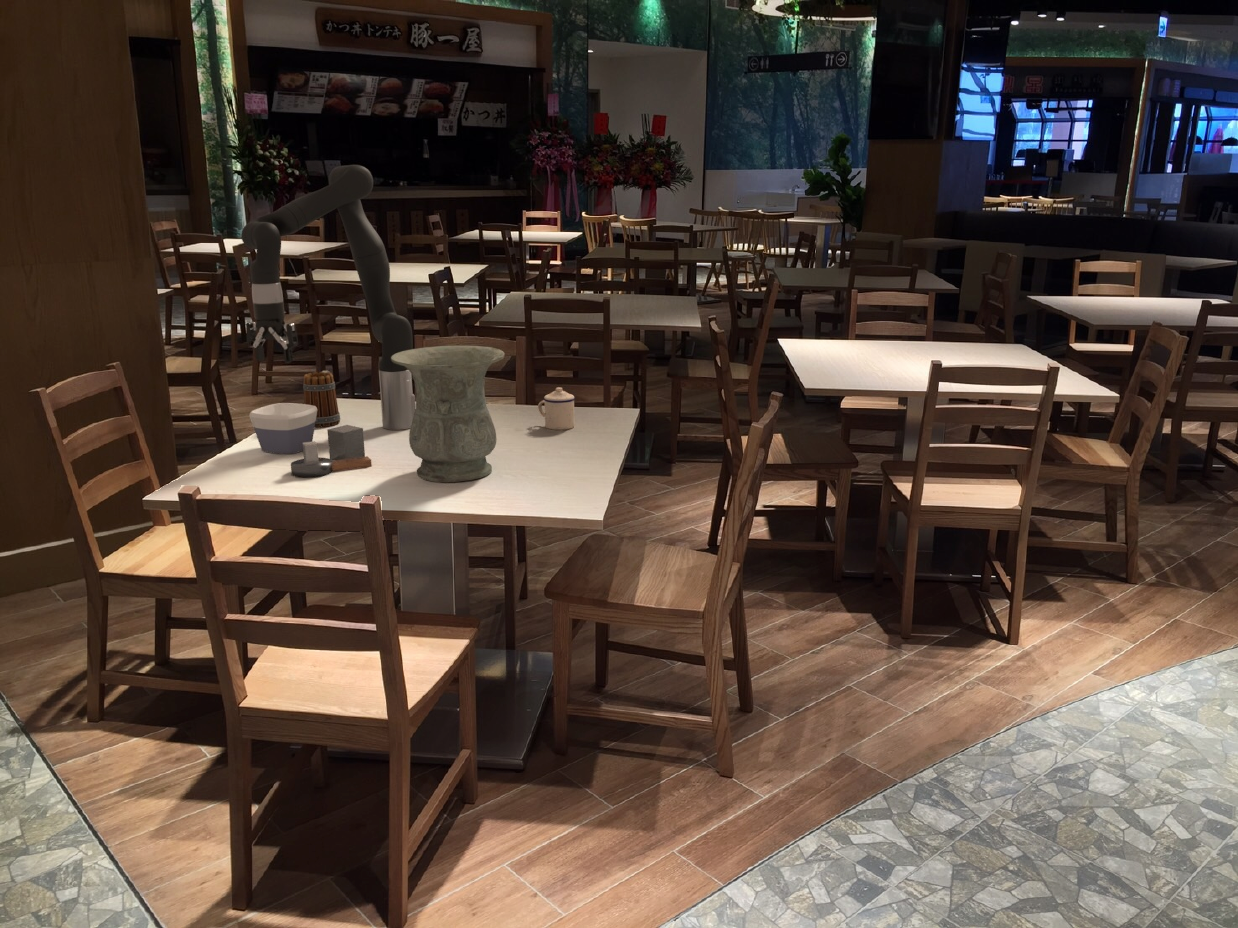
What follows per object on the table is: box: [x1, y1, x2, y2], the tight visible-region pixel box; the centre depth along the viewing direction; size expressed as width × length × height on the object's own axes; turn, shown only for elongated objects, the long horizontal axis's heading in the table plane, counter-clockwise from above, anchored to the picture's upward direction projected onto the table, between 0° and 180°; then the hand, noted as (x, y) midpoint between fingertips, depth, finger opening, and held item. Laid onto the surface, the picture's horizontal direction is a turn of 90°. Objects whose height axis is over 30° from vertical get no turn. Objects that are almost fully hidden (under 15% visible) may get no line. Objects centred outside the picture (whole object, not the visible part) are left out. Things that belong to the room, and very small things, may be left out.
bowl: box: [249, 402, 317, 455], centre depth 278 cm, size 15×15×11 cm
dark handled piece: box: [290, 440, 372, 479], centre depth 258 cm, size 20×10×8 cm, turn 118°
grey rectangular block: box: [327, 424, 366, 461], centre depth 269 cm, size 6×6×8 cm
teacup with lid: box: [537, 387, 576, 431], centre depth 302 cm, size 12×9×12 cm
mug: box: [302, 370, 341, 429], centre depth 308 cm, size 16×11×15 cm
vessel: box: [391, 345, 505, 483], centre depth 252 cm, size 27×27×30 cm
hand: (274, 362), depth 271 cm, fingers open, 8 cm apart
